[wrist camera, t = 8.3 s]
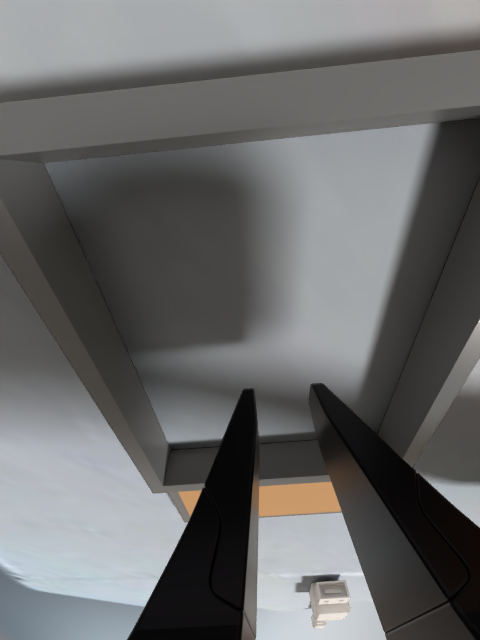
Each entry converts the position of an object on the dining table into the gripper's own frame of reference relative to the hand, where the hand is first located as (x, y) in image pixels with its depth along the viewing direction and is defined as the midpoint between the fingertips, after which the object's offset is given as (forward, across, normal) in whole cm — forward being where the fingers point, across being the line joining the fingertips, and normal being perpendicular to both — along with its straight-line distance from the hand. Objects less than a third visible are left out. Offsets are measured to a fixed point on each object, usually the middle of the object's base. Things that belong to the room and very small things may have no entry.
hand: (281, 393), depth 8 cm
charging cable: (+3, -8, +57) cm, 58 cm away
